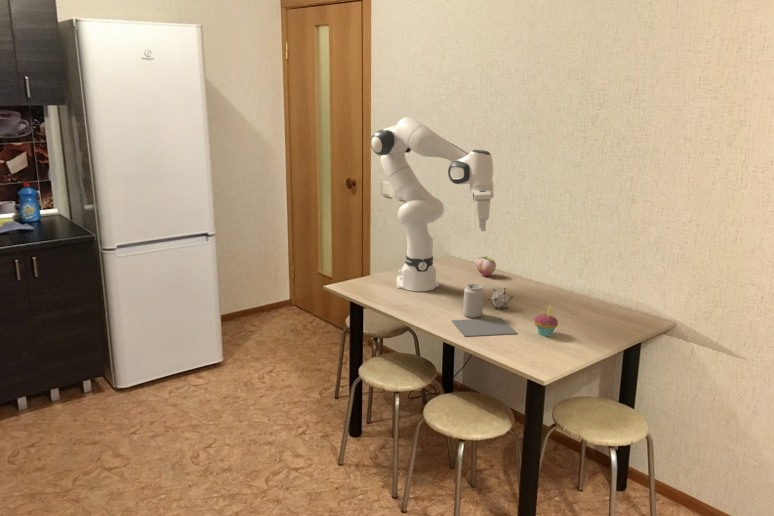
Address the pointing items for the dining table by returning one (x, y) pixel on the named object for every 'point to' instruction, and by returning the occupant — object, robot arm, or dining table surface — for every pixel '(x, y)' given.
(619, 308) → the dining table surface
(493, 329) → the mat
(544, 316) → the cupcake
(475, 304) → the can
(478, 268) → the decorative fruit
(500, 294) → the game die
